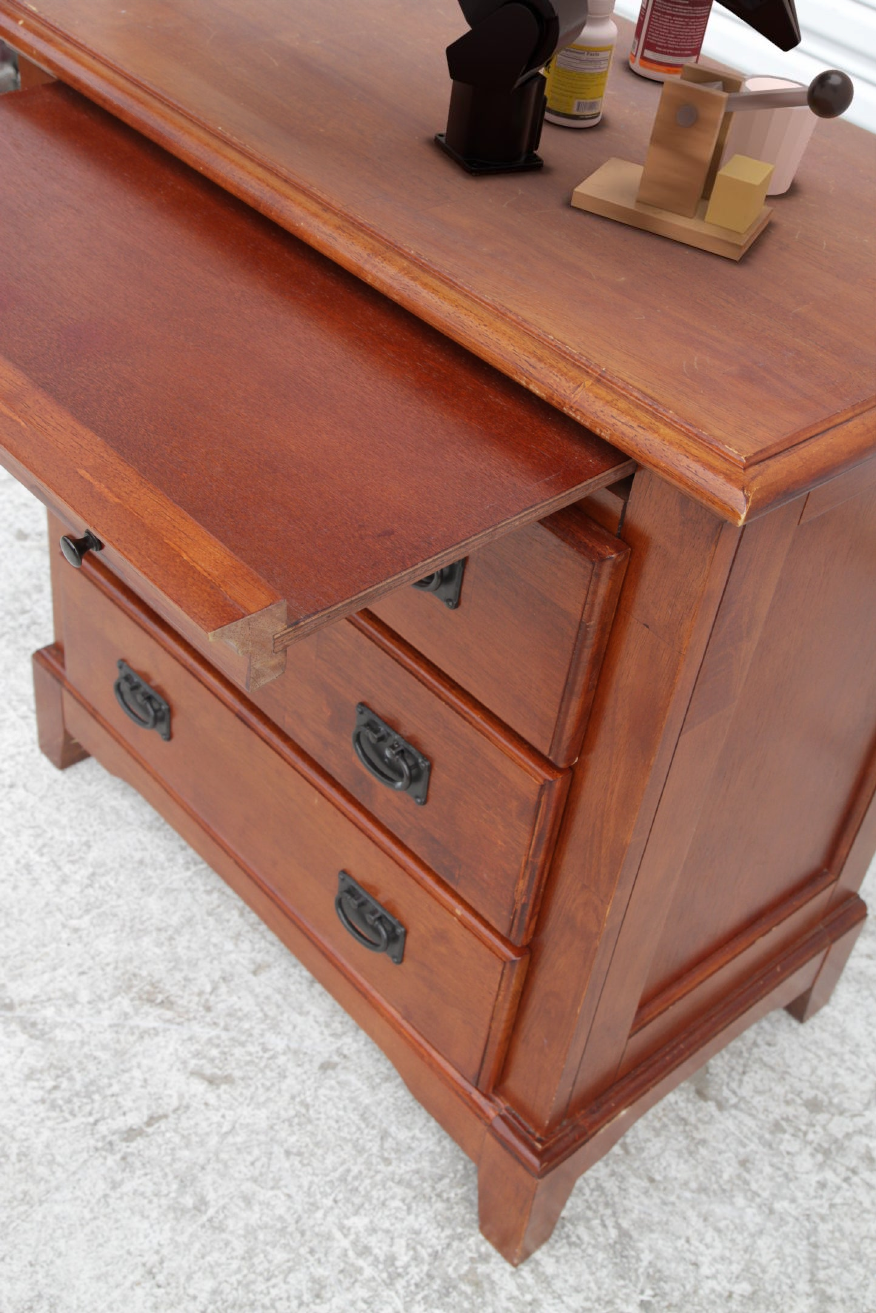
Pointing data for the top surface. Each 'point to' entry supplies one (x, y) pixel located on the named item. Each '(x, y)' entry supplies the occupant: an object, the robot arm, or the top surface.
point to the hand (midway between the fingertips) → (793, 47)
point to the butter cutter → (676, 168)
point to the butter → (739, 193)
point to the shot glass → (772, 133)
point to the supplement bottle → (583, 71)
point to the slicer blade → (797, 96)
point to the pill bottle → (668, 36)
